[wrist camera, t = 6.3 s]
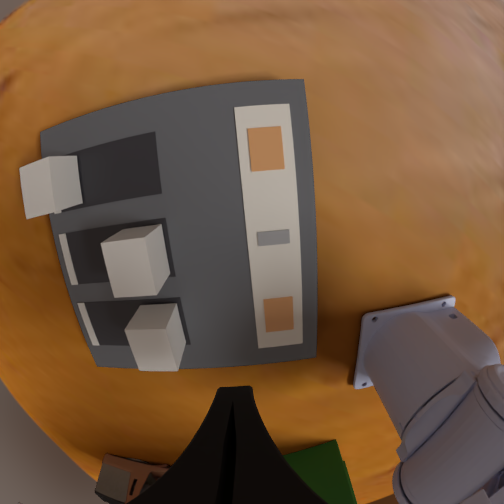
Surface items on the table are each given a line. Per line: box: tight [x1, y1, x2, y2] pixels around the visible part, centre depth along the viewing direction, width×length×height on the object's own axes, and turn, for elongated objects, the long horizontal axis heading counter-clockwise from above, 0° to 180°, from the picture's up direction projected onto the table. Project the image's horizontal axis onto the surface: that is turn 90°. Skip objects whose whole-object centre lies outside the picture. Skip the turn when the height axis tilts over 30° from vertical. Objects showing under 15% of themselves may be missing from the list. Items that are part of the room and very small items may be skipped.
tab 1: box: [19, 156, 83, 219], centre depth 13 cm, size 2×3×3 cm
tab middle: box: [101, 224, 170, 298], centre depth 15 cm, size 2×3×3 cm
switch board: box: [40, 79, 317, 369], centre depth 17 cm, size 17×18×2 cm
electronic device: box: [95, 454, 169, 504], centre depth 23 cm, size 4×10×8 cm, turn 93°
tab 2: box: [125, 303, 186, 371], centre depth 16 cm, size 2×3×3 cm
